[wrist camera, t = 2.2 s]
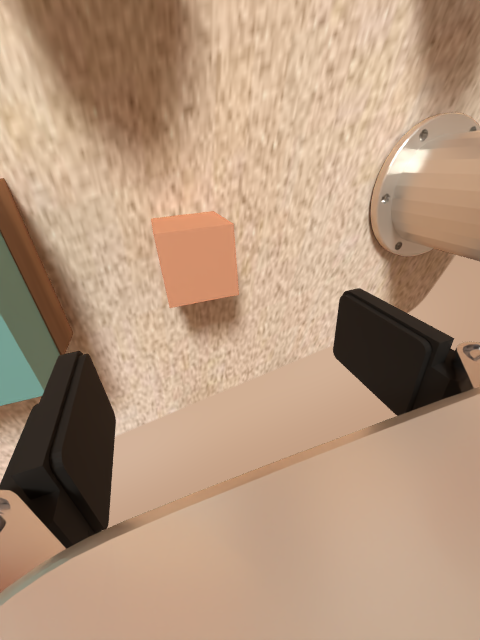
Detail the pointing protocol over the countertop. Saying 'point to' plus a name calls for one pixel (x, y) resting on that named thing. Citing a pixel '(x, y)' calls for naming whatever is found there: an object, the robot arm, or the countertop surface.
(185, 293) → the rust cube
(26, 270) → the walnut base block
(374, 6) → the countertop surface
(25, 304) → the teal top block
